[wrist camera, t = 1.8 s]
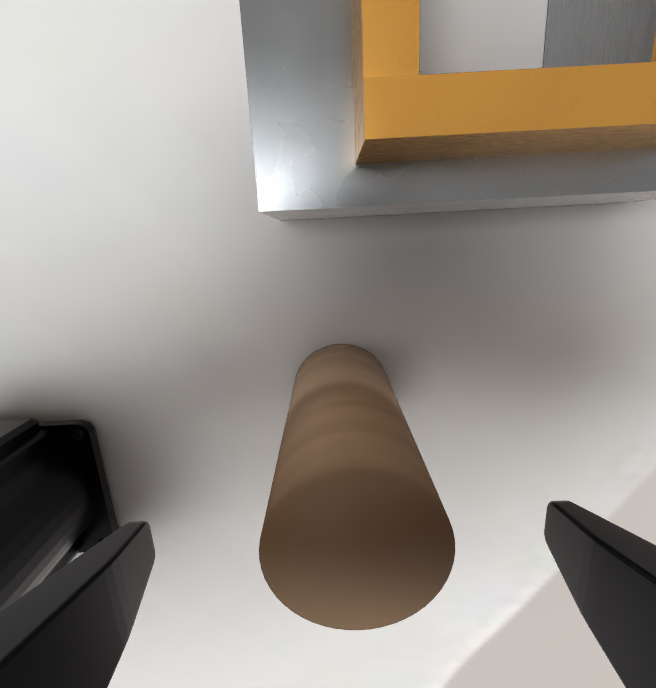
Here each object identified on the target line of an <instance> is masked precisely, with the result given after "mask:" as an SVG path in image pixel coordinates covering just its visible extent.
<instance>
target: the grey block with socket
mask: <svg viewBox="0 0 656 688" xmlns="http://www.w3.org/2000/svg"><path fill="white" fill-rule="evenodd" d="M239 1H240V12H241V23H242V34H243V44H244V55H245V66H246V77H247V88H248V99H249V109H250V120H251V131H252V142H253V153H254V164H255V175H256V185H257V196H258V207H259V212H261V213H263V214H266V215H268V216H271V217H274V218H276V219H279V220H298V219H317V218H336V217H356V216H375V215H394V214H413V213H432V212H451V211H470V210H489V209H508V208H527V207H546V206H565V205H584V204H603V203H622V202H632V201H640V200H648V199H656V0H549V2H548V14H547V26H546V38H545V50H544V62H543V68H536V69H518V70H500V71H482V72H464V73H446V74H428V75H419V45H420V0H239Z"/></svg>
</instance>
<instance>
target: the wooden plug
mask: <svg viewBox="0 0 656 688" xmlns="http://www.w3.org/2000/svg"><path fill="white" fill-rule="evenodd" d="M454 556H455V539H454V534H453V529H452V526H451V524H450V521H449V518H448V516H447V514H446V511H445V509H444V507H443V505H442V502H441V500H440V498H439V495H438V493H437V491H436V488H435V486H434V484H433V482H432V479H431V477H430V475H429V472H428V470H427V468H426V466H425V463H424V461H423V459H422V456H421V454H420V452H419V449H418V447H417V445H416V443H415V440H414V438H413V436H412V433H411V431H410V429H409V427H408V424H407V422H406V420H405V417H404V415H403V413H402V410H401V408H400V406H399V404H398V401H397V399H396V397H395V394H394V392H393V390H392V387H391V385H390V383H389V381H388V378H387V376H386V374H385V371H384V369H383V368H382V366H381V364H380V363H379V361H378V360H377V359H376V358H375V357H374V356H373V355H371V354H370V353H369V352H367V351H366V350H364V349H362V348H359V347H357V346H353V345H347V344H336V345H330V346H326V347H324V348H321V349H319V350H317V351H315V352H314V353H313V354H311V355H310V356H309V357H308V358H307V359H306V360H305V361H304V362H303V363H302V365H301V367H300V368H299V370H298V373H297V375H296V379H295V383H294V387H293V392H292V397H291V401H290V406H289V410H288V415H287V419H286V424H285V428H284V433H283V437H282V442H281V447H280V451H279V456H278V460H277V465H276V469H275V474H274V478H273V483H272V488H271V492H270V497H269V501H268V506H267V510H266V515H265V519H264V524H263V528H262V533H261V538H260V545H259V559H260V564H261V569H262V572H263V575H264V578H265V580H266V582H267V584H268V585H269V587H270V589H271V590H272V592H273V593H274V594H275V596H276V597H277V598H278V599H279V600H280V601H281V602H282V603H283V604H284V605H285V606H286V607H288V608H289V609H290V610H291V611H293V612H294V613H296V614H297V615H299V616H301V617H302V618H304V619H307V620H309V621H311V622H313V623H316V624H319V625H322V626H326V627H331V628H335V629H343V630H366V629H374V628H379V627H384V626H387V625H391V624H394V623H397V622H399V621H401V620H404V619H406V618H408V617H410V616H411V615H413V614H415V613H417V612H418V611H419V610H421V609H422V608H423V607H425V606H426V605H427V604H428V603H429V602H430V601H431V600H433V599H434V597H435V596H436V595H437V594H438V593H439V592H440V590H441V589H442V587H443V586H444V584H445V583H446V581H447V579H448V577H449V574H450V572H451V569H452V566H453V562H454Z"/></svg>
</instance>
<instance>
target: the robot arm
mask: <svg viewBox="0 0 656 688" xmlns="http://www.w3.org/2000/svg"><path fill="white" fill-rule="evenodd" d="M78 430H80V431H82V432H83V434H84V436H83V435H81V434H79V433H78ZM544 535H545V540H546V543H547V545H548V547H549V549H550V551H551V553H552V555H553V557H554V559H555V562H556V564H557V566H558V568H559V570H560V572H561V574H562V576H563V578H564V580H565V582H566V584H567V586H568V588H569V590H570V592H571V594H572V596H573V598H574V600H575V602H576V604H577V606H578V608H579V610H580V612H581V614H582V615H583V617H584V619H585V621H586V622H587V624H588V626H589V628H590V629H591V631H592V632H593V634H594V636H595V638H596V639H597V641H598V643H599V644H600V646H601V647H602V649H603V651H604V652H605V654H606V656H607V657H608V659H609V661H610V662H611V664H612V666H613V667H614V669H615V671H616V672H617V674H618V675H619V677H620V679H621V680H622V682H623V684H624V685H625V687H626V688H656V545H654V544H652V543H650V542H648V541H646V540H644V539H642V538H640V537H638V536H636V535H635V534H633V533H631V532H629V531H627V530H624V529H623V528H621V527H619V526H617V525H615V524H613V523H611V522H609V521H607V520H605V519H603V518H602V517H600V516H598V515H596V514H594V513H592V512H590V511H588V510H586V509H584V508H582V507H580V506H578V505H576V504H574V503H572V502H570V501H551V502H550V503H549V504H548V506H547V512H546V521H545V529H544ZM79 552H85V553H83V554H82V555H80V556H79V557H77V558H76V559H75V560H73V561H72V562H70V561H71V560H72V559H73V558H74V556H75V555H76V554H77V553H79ZM154 559H155V549H154V544H153V539H152V534H151V529H150V525H149V524H148V523H147V522H145V521H140V522H129V523H127V524H125V525H124V526H122V527H121V528H119V529H118V528H117V523H116V519H115V515H114V510H113V506H112V502H111V497H110V493H109V489H108V484H107V480H106V476H105V471H104V467H103V463H102V458H101V454H100V450H99V445H98V441H97V437H96V432H95V429H94V427H93V425H92V424H91V423H90V422H88V421H85V420H69V421H49V422H38V421H37V420H35V419H32V418H20V419H0V688H107V687H108V685H109V683H110V680H111V678H112V676H113V674H114V671H115V669H116V667H117V664H118V662H119V660H120V657H121V655H122V653H123V650H124V648H125V646H126V643H127V641H128V638H129V636H130V633H131V630H132V627H133V625H134V622H135V619H136V615H137V612H138V609H139V606H140V603H141V600H142V597H143V594H144V591H145V588H146V585H147V582H148V579H149V576H150V573H151V570H152V567H153V564H154Z"/></svg>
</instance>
